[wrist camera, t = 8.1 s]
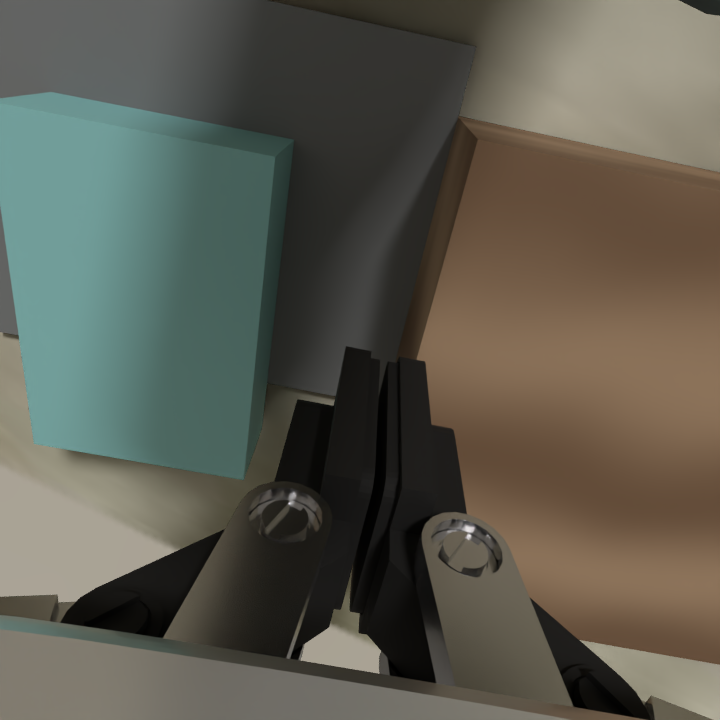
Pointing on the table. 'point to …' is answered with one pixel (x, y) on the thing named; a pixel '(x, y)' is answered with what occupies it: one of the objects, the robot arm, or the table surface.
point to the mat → (283, 119)
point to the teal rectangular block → (142, 278)
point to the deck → (582, 376)
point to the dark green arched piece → (705, 5)
